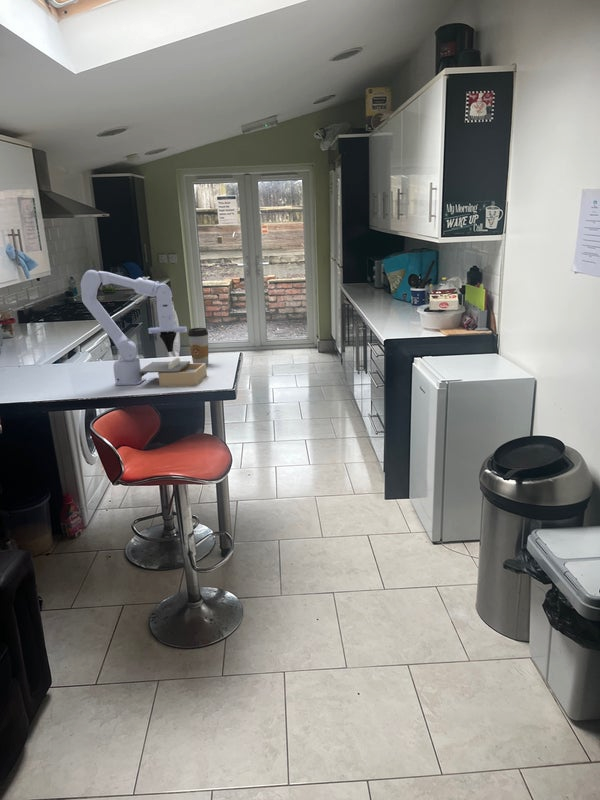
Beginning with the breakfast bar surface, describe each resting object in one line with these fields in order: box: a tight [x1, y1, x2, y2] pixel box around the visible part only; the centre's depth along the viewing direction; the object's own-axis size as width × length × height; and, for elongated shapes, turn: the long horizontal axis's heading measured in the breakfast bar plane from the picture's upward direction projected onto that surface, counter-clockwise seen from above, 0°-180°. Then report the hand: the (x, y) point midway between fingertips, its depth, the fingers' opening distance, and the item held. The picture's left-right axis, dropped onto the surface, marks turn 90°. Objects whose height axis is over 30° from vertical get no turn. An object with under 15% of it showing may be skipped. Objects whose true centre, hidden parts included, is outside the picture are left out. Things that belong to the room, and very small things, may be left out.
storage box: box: [157, 363, 208, 387], centre depth 228 cm, size 14×14×5 cm
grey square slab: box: [138, 357, 191, 378], centre depth 228 cm, size 15×15×4 cm
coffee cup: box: [187, 327, 209, 366], centre depth 252 cm, size 8×8×15 cm
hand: (170, 351), depth 232 cm, fingers closed
